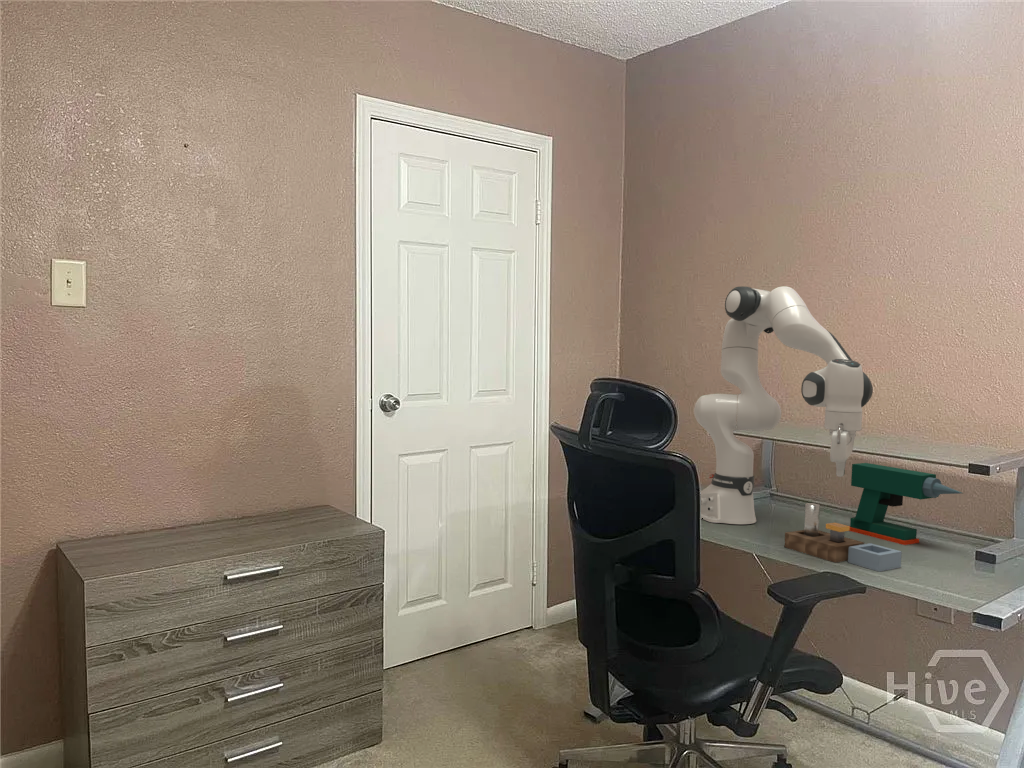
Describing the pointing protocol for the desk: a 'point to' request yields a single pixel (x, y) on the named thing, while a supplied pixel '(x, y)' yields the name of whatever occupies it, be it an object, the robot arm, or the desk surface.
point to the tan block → (837, 531)
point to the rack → (874, 557)
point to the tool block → (820, 545)
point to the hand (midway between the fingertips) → (840, 475)
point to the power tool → (890, 498)
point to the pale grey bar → (811, 519)
